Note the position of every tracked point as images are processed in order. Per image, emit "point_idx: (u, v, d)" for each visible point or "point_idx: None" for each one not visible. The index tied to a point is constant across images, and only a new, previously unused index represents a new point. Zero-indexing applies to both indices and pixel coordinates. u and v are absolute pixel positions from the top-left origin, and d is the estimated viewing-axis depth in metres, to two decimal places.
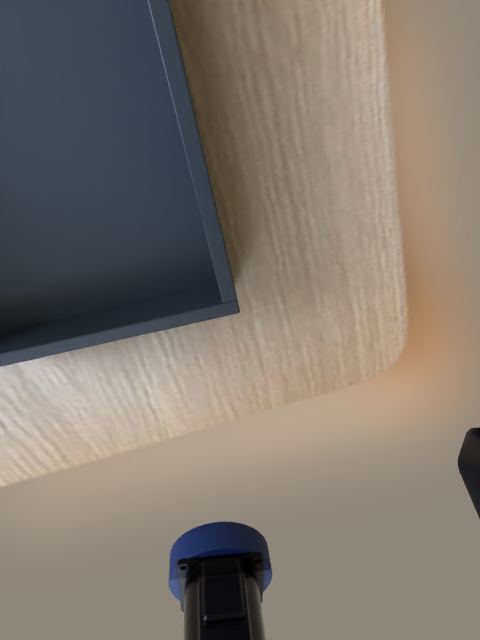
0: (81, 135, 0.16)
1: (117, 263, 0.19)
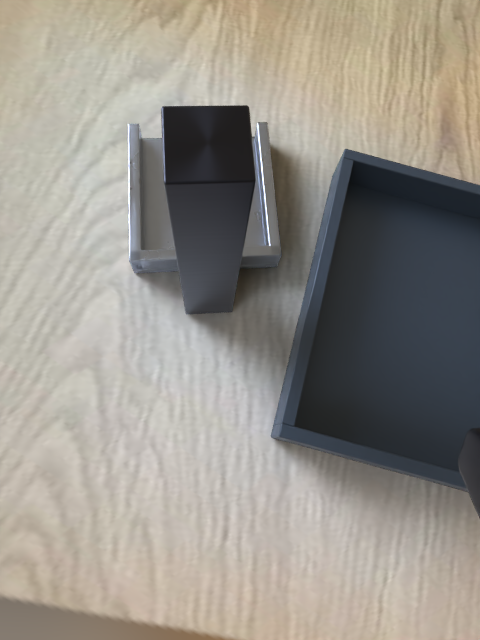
0: (454, 333, 0.23)
1: (434, 427, 0.22)
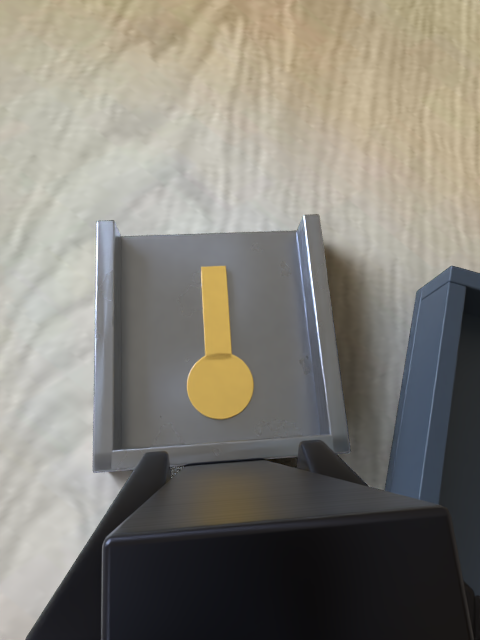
0: None
1: None
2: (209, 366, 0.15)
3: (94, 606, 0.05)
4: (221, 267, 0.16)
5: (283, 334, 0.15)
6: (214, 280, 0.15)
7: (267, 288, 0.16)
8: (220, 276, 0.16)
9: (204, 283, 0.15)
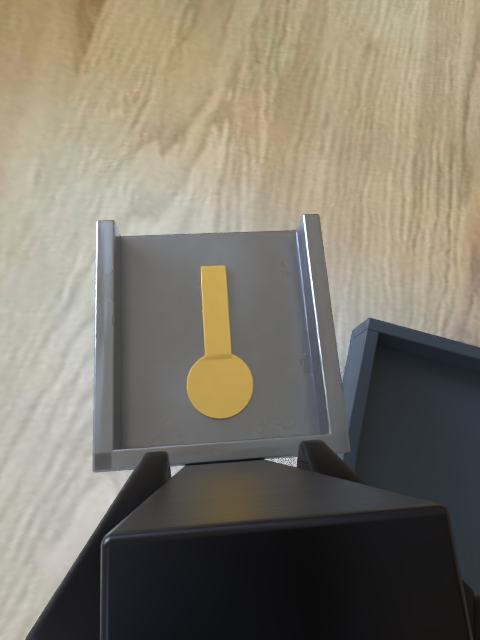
0: None
1: None
2: (209, 365, 0.15)
3: (94, 606, 0.05)
4: (221, 267, 0.16)
5: (283, 334, 0.15)
6: (214, 280, 0.15)
7: (266, 288, 0.16)
8: (220, 275, 0.16)
9: (204, 283, 0.15)
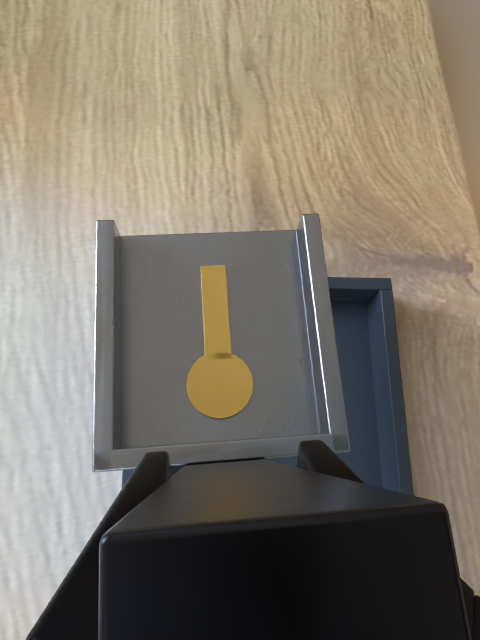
0: None
1: None
2: (209, 365, 0.15)
3: (94, 606, 0.05)
4: (220, 266, 0.16)
5: (283, 333, 0.15)
6: (214, 279, 0.15)
7: (266, 288, 0.16)
8: (220, 275, 0.16)
9: (204, 282, 0.15)
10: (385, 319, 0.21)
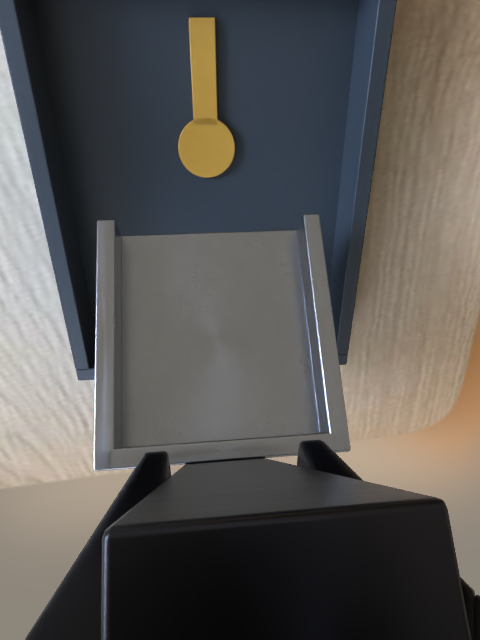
0: (254, 193, 0.18)
1: None
2: (197, 130, 0.17)
3: (94, 606, 0.05)
4: (210, 20, 0.15)
5: (283, 333, 0.15)
6: (202, 36, 0.15)
7: (267, 287, 0.16)
8: (208, 31, 0.15)
9: (192, 40, 0.15)
10: (378, 28, 0.14)
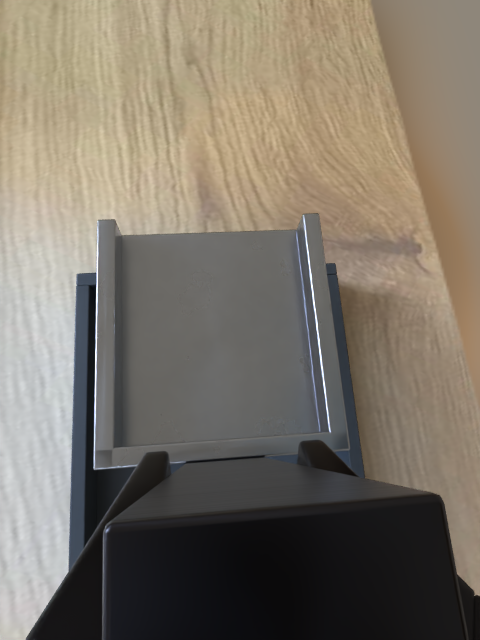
0: None
1: None
2: None
3: (94, 606, 0.05)
4: None
5: (283, 332, 0.15)
6: None
7: (267, 287, 0.16)
8: None
9: None
10: (331, 304, 0.21)
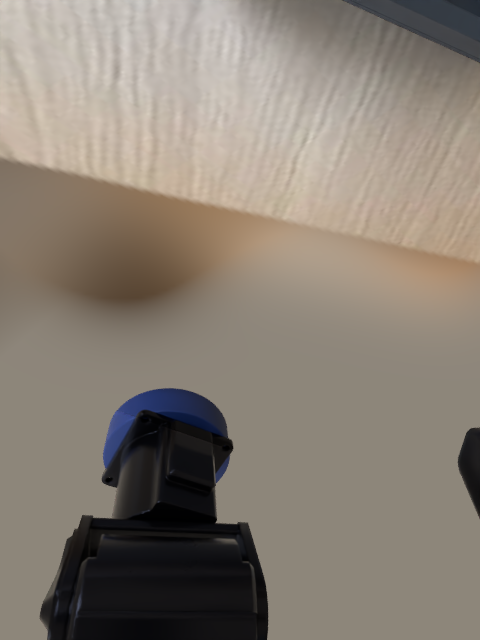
0: None
1: None
2: None
3: None
4: None
5: None
6: None
7: None
8: None
9: None
10: None
